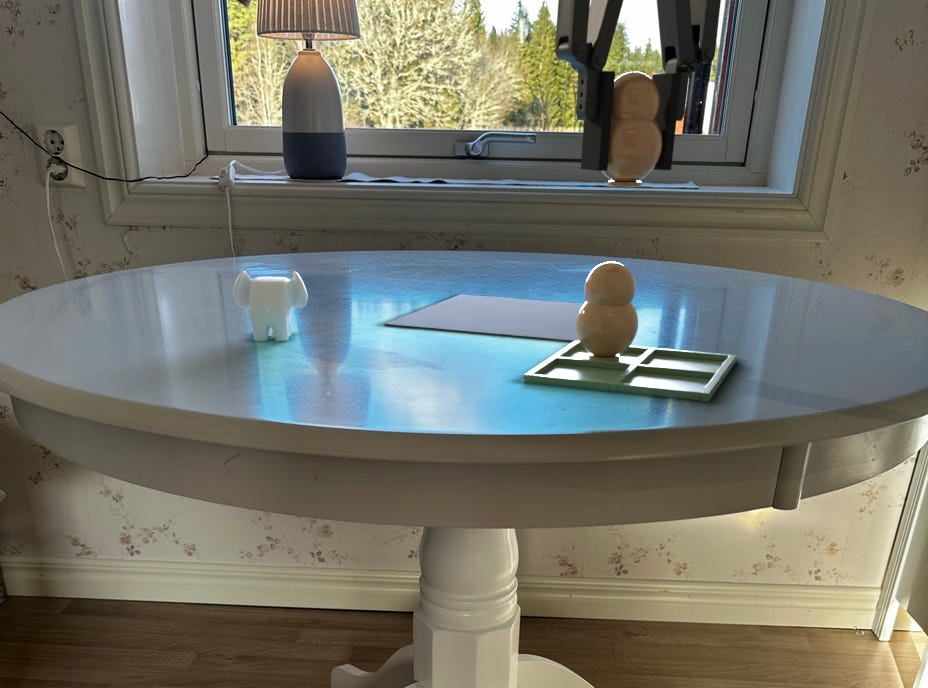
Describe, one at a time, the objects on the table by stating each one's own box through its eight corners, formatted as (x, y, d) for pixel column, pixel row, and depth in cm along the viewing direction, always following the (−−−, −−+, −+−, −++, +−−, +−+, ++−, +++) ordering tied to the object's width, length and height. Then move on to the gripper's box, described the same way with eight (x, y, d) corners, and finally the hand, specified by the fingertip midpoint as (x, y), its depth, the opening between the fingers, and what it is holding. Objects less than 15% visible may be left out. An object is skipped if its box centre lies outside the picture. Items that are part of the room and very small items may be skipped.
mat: (631, 311, 103) (631, 306, 103) (580, 346, 87) (581, 341, 87) (460, 298, 110) (460, 294, 110) (384, 329, 94) (384, 323, 94)
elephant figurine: (314, 331, 93) (310, 266, 90) (305, 348, 86) (301, 278, 83) (244, 331, 92) (238, 266, 90) (230, 348, 85) (222, 278, 83)
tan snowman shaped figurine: (663, 184, 76) (675, 73, 73) (651, 188, 72) (663, 70, 68) (600, 182, 78) (608, 73, 74) (584, 186, 74) (592, 70, 70)
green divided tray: (735, 365, 81) (736, 354, 81) (707, 406, 69) (709, 393, 69) (573, 350, 86) (574, 340, 85) (522, 386, 74) (523, 374, 74)
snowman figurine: (640, 355, 83) (650, 260, 79) (626, 367, 78) (636, 267, 75) (582, 349, 84) (589, 256, 81) (565, 361, 80) (572, 263, 76)
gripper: (735, -189, 70) (693, 166, 81) (513, -223, 63) (500, 168, 74) (807, -218, 64) (750, 170, 75) (569, -259, 57) (546, 173, 68)
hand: (626, 168), depth 75 cm, fingers closed on tan snowman shaped figurine, 5 cm apart
